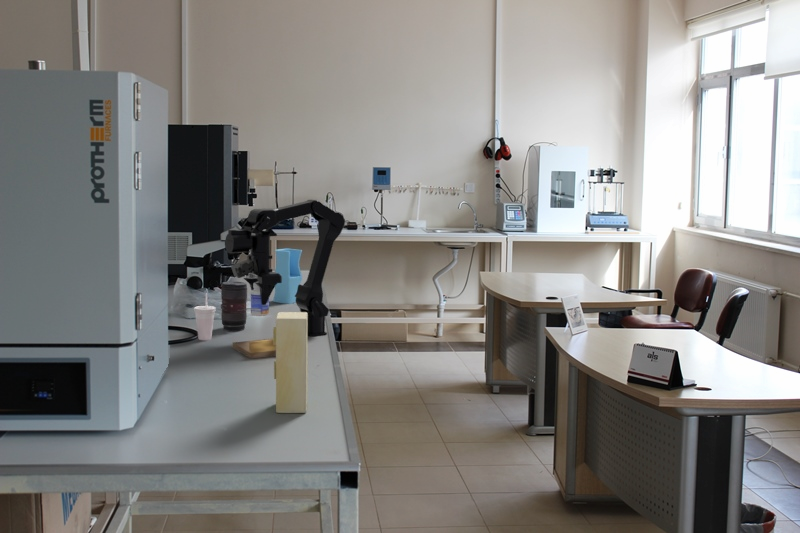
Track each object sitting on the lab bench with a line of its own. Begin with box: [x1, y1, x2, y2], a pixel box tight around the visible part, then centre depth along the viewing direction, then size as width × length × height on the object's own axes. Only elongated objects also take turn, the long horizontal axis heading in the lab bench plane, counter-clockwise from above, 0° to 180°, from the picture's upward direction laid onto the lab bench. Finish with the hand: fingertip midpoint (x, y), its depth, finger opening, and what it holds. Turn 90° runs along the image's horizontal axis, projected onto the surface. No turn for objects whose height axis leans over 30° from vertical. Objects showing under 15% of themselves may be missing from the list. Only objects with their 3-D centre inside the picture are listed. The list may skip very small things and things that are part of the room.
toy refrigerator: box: [272, 311, 308, 414], centre depth 175 cm, size 8×7×21 cm
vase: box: [272, 248, 303, 305], centre depth 306 cm, size 8×8×20 cm
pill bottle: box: [250, 282, 270, 317], centre depth 239 cm, size 5×5×10 cm
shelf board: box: [232, 338, 276, 359], centre depth 228 cm, size 15×14×4 cm
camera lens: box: [220, 281, 248, 332], centre depth 255 cm, size 8×8×15 cm
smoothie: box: [193, 292, 217, 341], centre depth 240 cm, size 6×6×14 cm
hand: (260, 303), depth 239 cm, fingers closed on pill bottle, 5 cm apart
